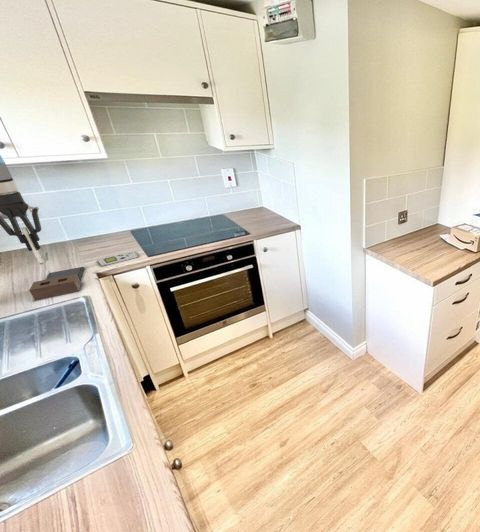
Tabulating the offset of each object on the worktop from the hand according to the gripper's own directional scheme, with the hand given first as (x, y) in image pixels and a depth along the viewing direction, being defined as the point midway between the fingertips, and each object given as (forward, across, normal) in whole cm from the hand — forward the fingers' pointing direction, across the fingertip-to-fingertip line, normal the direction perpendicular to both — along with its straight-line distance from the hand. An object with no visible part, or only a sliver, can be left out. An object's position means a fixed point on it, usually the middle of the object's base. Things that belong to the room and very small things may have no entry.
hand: (34, 249), depth 133 cm
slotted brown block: (+18, -2, +6) cm, 19 cm away
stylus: (+7, 0, +1) cm, 7 cm away
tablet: (+18, -2, -8) cm, 20 cm away
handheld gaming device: (+18, -22, -20) cm, 34 cm away
